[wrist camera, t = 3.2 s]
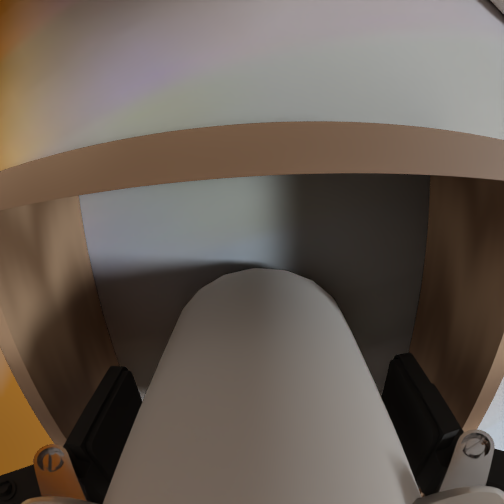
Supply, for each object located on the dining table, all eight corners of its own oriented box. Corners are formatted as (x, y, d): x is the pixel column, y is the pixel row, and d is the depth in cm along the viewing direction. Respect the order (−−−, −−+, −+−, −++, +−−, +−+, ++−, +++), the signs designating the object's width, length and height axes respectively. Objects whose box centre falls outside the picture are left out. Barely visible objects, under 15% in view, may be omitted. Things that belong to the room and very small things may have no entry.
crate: (57, 167, 11) (-43, 187, 6) (447, 143, 11) (548, 151, 5) (137, 441, 17) (112, 512, 11) (398, 430, 16) (426, 501, 10)
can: (223, 410, 15) (198, 621, 4) (150, 296, 13) (3, 550, 2) (358, 367, 14) (435, 590, 3) (313, 231, 12) (490, 566, 1)
